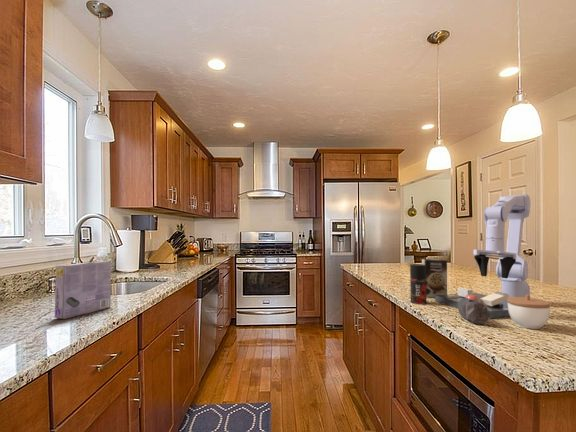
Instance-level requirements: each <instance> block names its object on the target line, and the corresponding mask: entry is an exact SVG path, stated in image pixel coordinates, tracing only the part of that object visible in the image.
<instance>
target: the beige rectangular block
mask: <svg viewBox="0 0 576 432" xmlns="http://www.w3.org/2000/svg"><path fill="white" fill-rule="evenodd" d="M507 298H509V294H506V293H502V291H495V292H493V293H490V294H488V295H487V296H485V297H483V298H480V300H481V303H482V304H485V305H489V306H494V305H496V304H499V303H501V302H504V301H506V300H507Z"/></svg>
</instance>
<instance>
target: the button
mask: <svg viewBox="0 0 576 432" xmlns="http://www.w3.org/2000/svg"><path fill="white" fill-rule="evenodd" d="M466 298H468V299H473V300H476V301H478V296H476V295H466Z"/></svg>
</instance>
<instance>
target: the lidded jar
mask: <svg viewBox="0 0 576 432" xmlns="http://www.w3.org/2000/svg"><path fill="white" fill-rule="evenodd" d="M507 305H508V312H509V315H510V317H509V318H511V320H512V321H513V322H514V323H515V324H516V325H517V326H519V327H520V328H521V327H522V328H525V329H532V330H536V329H537V330H540V329H542V327H543V326H545V325H546V324H547V323H548V321H549V318H550V315H551V314H550V313H551V302H549V301H547V300H544V299H541V298H540V299H539V298H535V297H531V294H530V295H526V297H509V298H507Z"/></svg>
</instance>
